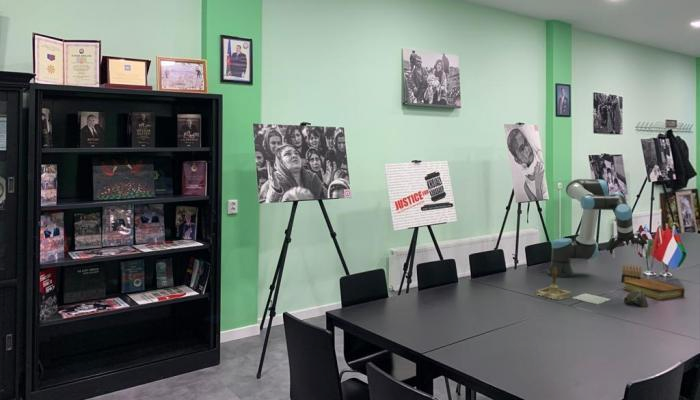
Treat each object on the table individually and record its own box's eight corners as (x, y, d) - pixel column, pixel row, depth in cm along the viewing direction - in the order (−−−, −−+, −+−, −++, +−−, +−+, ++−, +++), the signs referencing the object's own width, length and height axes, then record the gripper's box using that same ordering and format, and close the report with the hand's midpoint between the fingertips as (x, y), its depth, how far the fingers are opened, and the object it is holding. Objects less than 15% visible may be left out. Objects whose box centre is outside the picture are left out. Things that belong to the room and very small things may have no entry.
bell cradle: (535, 295, 279) (535, 290, 279) (548, 291, 287) (549, 286, 287) (558, 300, 268) (558, 296, 268) (571, 296, 277) (571, 291, 276)
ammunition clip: (641, 285, 303) (642, 265, 301) (640, 285, 301) (641, 265, 300) (622, 281, 310) (623, 262, 309) (621, 282, 309) (622, 263, 308)
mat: (572, 298, 273) (572, 297, 273) (585, 294, 281) (585, 293, 281) (598, 304, 262) (598, 303, 262) (610, 300, 270) (610, 299, 270)
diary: (684, 298, 277) (684, 288, 277) (659, 301, 270) (660, 291, 270) (646, 287, 298) (646, 278, 298) (622, 290, 292) (623, 280, 291)
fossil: (617, 300, 268) (626, 283, 268) (632, 307, 269) (641, 291, 269) (631, 305, 257) (640, 288, 257) (645, 313, 258) (655, 296, 258)
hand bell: (544, 293, 283) (546, 265, 282) (560, 294, 281) (562, 266, 279) (546, 297, 275) (547, 268, 274) (562, 298, 273) (563, 269, 271)
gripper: (601, 238, 269) (604, 263, 282) (653, 229, 261) (654, 255, 274) (597, 228, 275) (600, 253, 288) (648, 219, 267) (649, 245, 279)
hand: (626, 254), depth 281 cm, fingers open, 13 cm apart
